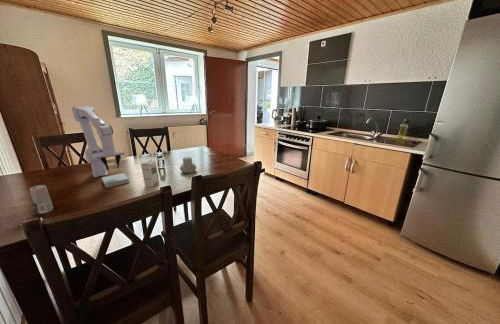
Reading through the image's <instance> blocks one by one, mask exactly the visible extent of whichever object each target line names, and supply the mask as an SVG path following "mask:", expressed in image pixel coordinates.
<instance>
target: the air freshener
mask: <svg viewBox="0 0 500 324" xmlns="http://www.w3.org/2000/svg"><path fill="white" fill-rule="evenodd" d="M196 169H197V166H196V164H195V163H194V162H193V158H192V157H191V156H185V157H183V158H182V164H181V165H180V166H179V170H180V171H181V172H182V173H185V174H192V173H193V172H195V171H196Z"/></svg>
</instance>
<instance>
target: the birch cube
mask: <svg viewBox="0 0 500 324" xmlns="http://www.w3.org/2000/svg"><path fill="white" fill-rule="evenodd" d="M107 165H108V168H109V170H108V174H109V173H110V174H111V173H116V172H119V168H118V166H117V163H116V161H115V162H109V163H107Z"/></svg>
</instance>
